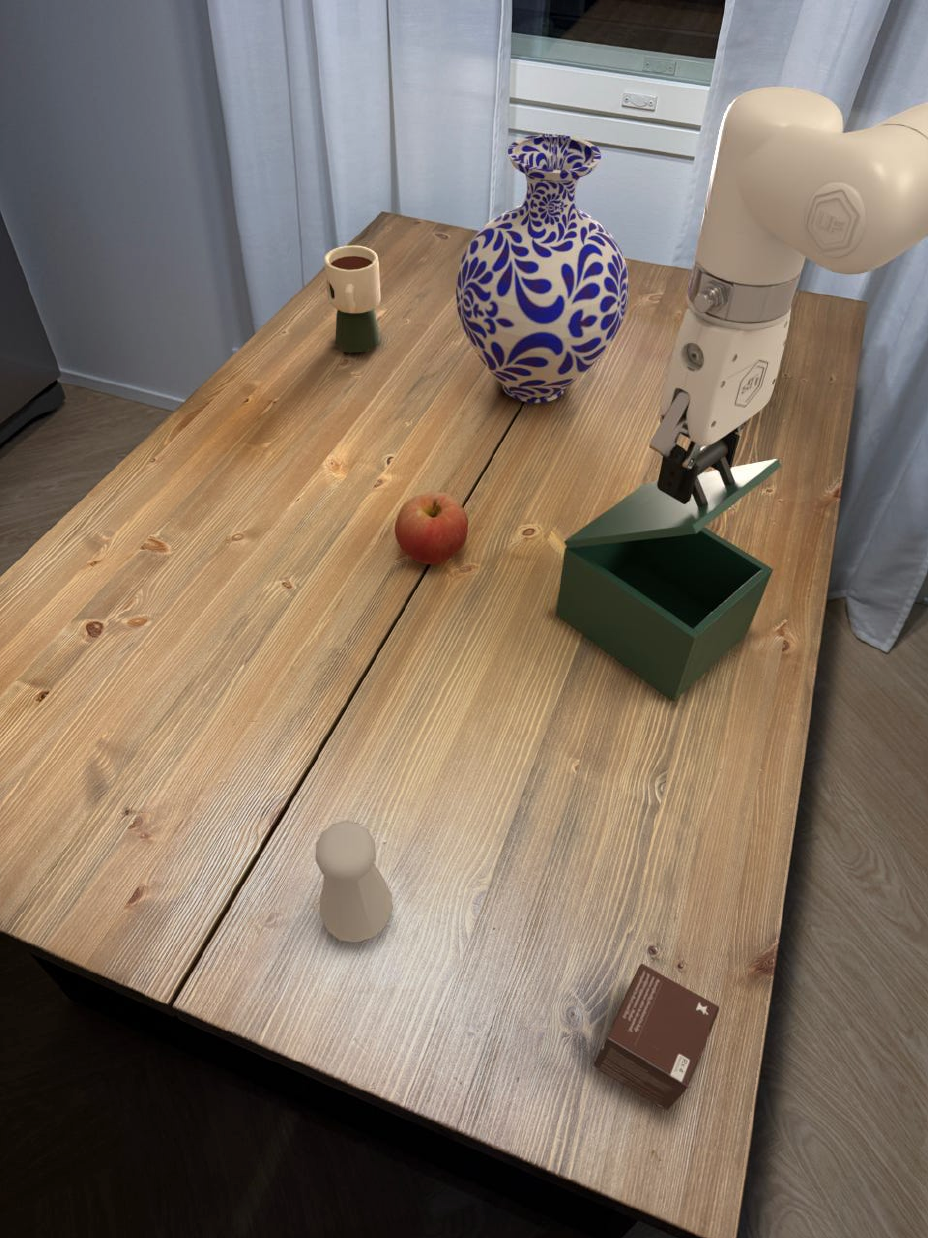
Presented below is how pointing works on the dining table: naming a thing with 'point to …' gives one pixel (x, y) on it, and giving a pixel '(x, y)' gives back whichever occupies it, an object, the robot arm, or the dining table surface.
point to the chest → (663, 603)
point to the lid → (676, 503)
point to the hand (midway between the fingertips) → (693, 478)
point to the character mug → (354, 296)
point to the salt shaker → (351, 883)
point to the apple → (431, 527)
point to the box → (657, 1037)
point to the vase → (543, 277)
